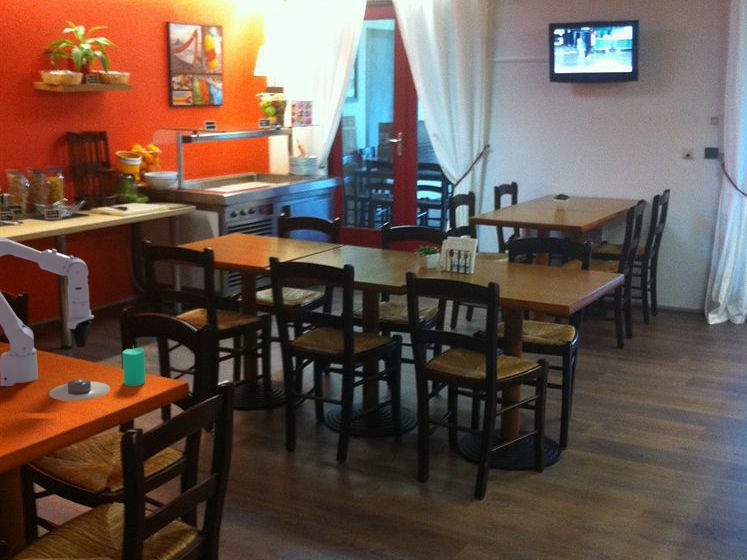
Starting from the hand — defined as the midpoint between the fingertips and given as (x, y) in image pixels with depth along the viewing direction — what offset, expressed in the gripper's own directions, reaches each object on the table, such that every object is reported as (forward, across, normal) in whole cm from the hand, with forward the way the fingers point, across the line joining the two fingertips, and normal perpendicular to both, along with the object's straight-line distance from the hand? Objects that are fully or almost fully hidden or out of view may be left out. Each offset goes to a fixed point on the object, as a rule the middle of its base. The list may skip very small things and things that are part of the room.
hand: (81, 346), depth 261 cm
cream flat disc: (+9, -16, -4) cm, 19 cm away
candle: (+9, -7, -17) cm, 21 cm away
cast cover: (+8, -16, -4) cm, 18 cm away
